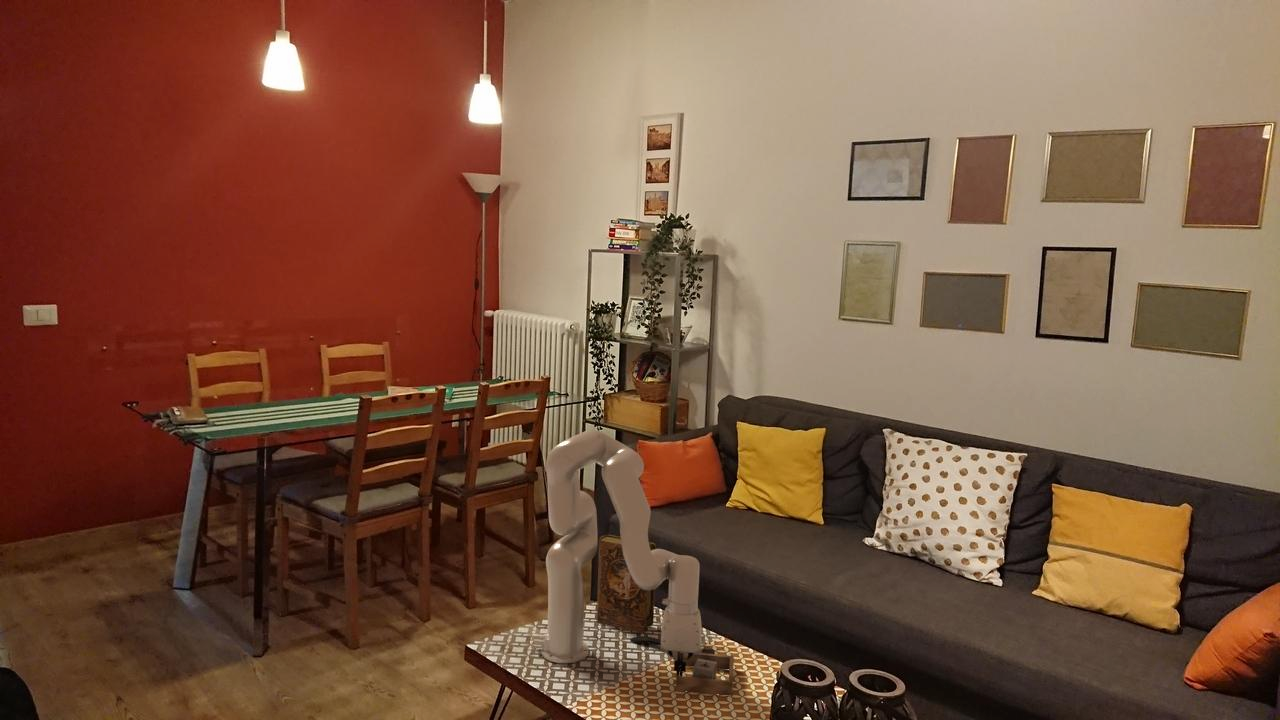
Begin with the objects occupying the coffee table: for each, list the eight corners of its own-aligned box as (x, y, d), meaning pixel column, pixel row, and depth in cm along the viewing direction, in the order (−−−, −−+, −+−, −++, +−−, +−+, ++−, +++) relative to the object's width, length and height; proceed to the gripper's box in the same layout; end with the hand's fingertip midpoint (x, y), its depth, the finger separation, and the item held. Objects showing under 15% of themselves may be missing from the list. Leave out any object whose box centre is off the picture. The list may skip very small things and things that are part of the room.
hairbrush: (637, 625, 235) (719, 643, 224) (638, 638, 236) (719, 656, 224) (623, 637, 228) (707, 655, 216) (623, 650, 228) (707, 669, 217)
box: (675, 690, 206) (676, 677, 205) (679, 663, 219) (680, 651, 219) (732, 696, 204) (733, 683, 203) (733, 668, 218) (733, 655, 217)
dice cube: (692, 686, 208) (693, 667, 207) (696, 676, 213) (697, 658, 212) (711, 690, 207) (712, 671, 206) (715, 680, 211) (716, 662, 211)
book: (594, 622, 242) (596, 539, 239) (602, 615, 247) (605, 534, 244) (645, 634, 235) (648, 549, 232) (653, 626, 240) (656, 543, 237)
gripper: (651, 608, 207) (648, 678, 209) (711, 614, 205) (708, 684, 208) (654, 596, 214) (652, 663, 217) (712, 601, 213) (709, 669, 215)
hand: (679, 673), depth 212 cm, fingers closed
